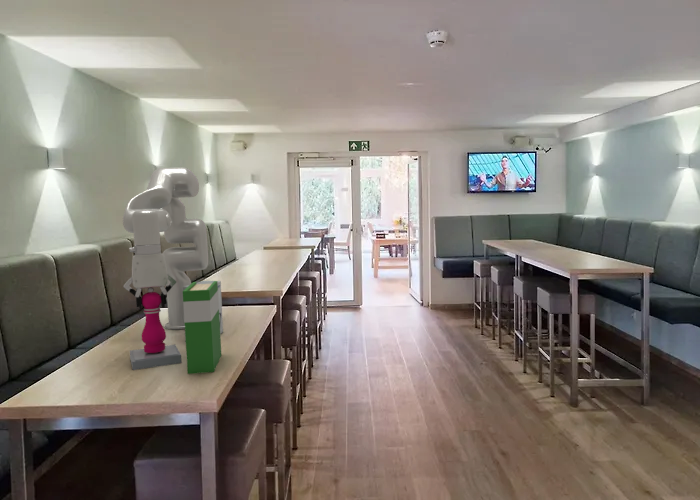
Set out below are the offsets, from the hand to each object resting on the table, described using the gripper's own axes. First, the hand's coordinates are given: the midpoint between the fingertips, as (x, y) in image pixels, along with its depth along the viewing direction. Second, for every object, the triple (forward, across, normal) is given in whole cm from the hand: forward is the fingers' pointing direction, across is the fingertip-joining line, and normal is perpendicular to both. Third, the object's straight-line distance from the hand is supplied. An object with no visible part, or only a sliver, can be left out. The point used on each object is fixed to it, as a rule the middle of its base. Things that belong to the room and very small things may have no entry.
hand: (151, 307), depth 169 cm
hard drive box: (+17, +19, +21) cm, 33 cm away
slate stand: (+17, 0, 0) cm, 17 cm away
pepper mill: (+14, 0, 0) cm, 14 cm away
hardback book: (+17, +13, -12) cm, 25 cm away
